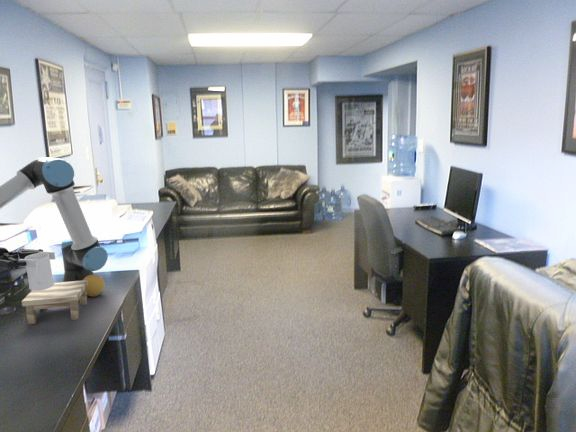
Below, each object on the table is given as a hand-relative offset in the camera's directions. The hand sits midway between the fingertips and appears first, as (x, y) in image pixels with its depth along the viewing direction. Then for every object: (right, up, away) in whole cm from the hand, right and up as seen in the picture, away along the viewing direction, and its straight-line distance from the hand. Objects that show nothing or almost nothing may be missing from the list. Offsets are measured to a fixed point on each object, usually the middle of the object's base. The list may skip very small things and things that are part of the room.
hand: (44, 259), depth 171 cm
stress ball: (+1, -21, +41) cm, 45 cm away
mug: (-3, -11, +3) cm, 12 cm away
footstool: (-5, -24, +22) cm, 33 cm away
